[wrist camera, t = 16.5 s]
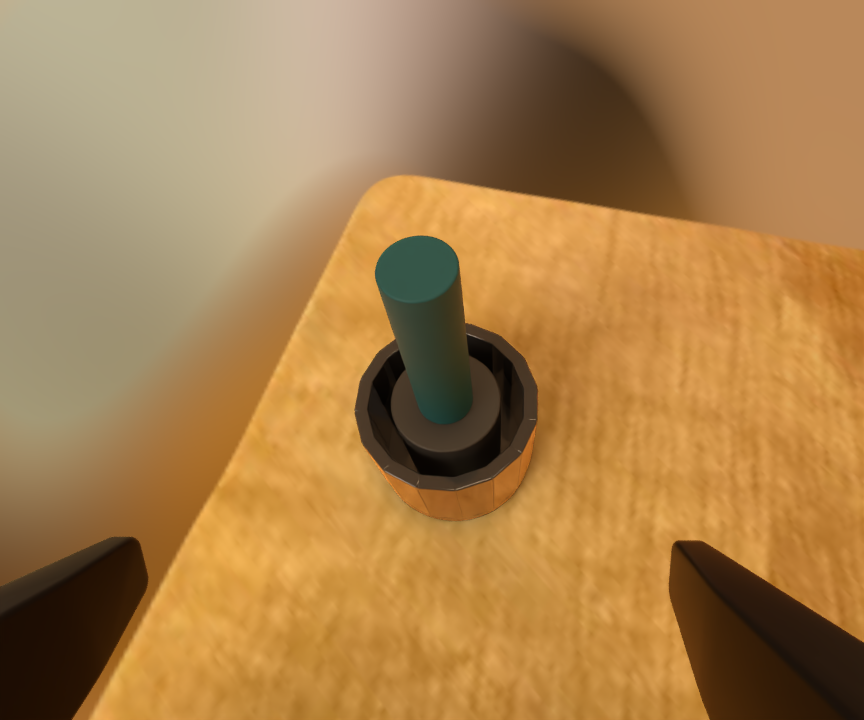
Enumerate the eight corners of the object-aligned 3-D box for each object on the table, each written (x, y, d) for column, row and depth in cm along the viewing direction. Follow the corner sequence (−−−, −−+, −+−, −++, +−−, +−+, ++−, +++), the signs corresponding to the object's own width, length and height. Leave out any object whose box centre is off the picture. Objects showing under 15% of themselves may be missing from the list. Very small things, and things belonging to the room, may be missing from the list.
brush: (514, 469, 22) (529, 307, 11) (423, 499, 22) (352, 363, 11) (482, 388, 24) (470, 186, 13) (399, 415, 24) (319, 231, 13)
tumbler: (554, 492, 22) (567, 454, 17) (403, 542, 21) (378, 516, 17) (499, 361, 25) (499, 301, 21) (367, 403, 25) (339, 352, 20)
